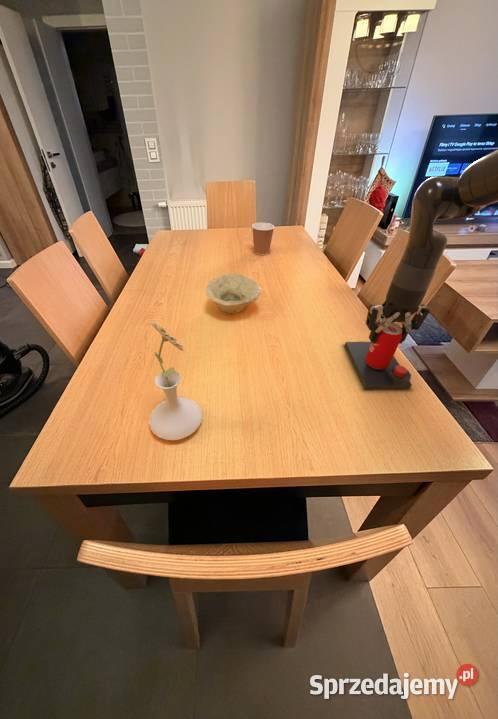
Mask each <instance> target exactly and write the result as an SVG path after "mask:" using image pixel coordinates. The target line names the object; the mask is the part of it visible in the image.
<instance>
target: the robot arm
mask: <svg viewBox="0 0 498 719" xmlns="http://www.w3.org/2000/svg"><path fill="white" fill-rule="evenodd" d="M495 203H498V149H496V150H494V151H493V152H490V153H489V154H486V155H485V156H482V157H481V158H479V159H478V160H476V161H473V163H471V164H470V165H469V166H468V167H466V168H465V169H464V171H462V172H461V175H460V176H431V177H430V178H427V179H426V180H424V181H423V182H422V183H421V184H420V185H419V187H418V188H417V190H416V191H415V193H414V196H413V198H412V203H411V210H410V212H411V213H410V225H409V232H408V239H407V242H406V245H405V248H404V250H403V253H402V255H401V258H400V260H399V262H398V264H397V266H396V268H395V271H394V273H393V275H392V278H391V281H390V284H389V287H388V289H387V292H386V296H385V300H384V302H383V303H382V304H381V305H375V304H374V303H371V304H370V305H368V310H367V315H366V320H365V326H366V327H367V328H368V330H369V331H370V332H369V335H368V340H369V342H372V344H376V342H377V339H378V337H379V334H380V331H381V330H382V329H383V328H384V327H387V326H388V325H389V324H390V323H401V328H402V338H401V340H400V343H399V345H401V344H403V342H405V341H406V339H407V337H408V334H409V333H410V332H411V331H418V330H420V328H421V326H423V323H424V321H426V318H427V317H428V315H429V313H431V312H430V311H431V310H430V309H429V308H428V307H427V306H426V305H425V303H422V302H423V301H424V298H425V296H426V293H427V291H428V289H429V288H430V285H431V283H432V281H433V278H434V276H435V273H436V270H437V267H438V265H439V263H440V260H441V258H442V257H443V254H444V252H445V250H446V247H447V244H448V237H447V236H446V235H445V234H444V233H442V232H440V231H437V230H434V224H435V223H436V221H458V220H461V219H465V218H469V217H471V216H473V215H475V214H477V213H478V212H480V211H481V210H483V209H484V208H486V207H487V206H489V205H493V204H495ZM411 317H412V318H411Z"/></svg>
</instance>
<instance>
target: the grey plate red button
mask: <svg viewBox="0 0 498 719" xmlns="http://www.w3.org/2000/svg"><path fill="white" fill-rule="evenodd" d="M370 345H371V341H345V343H344V345H343V346H344V349H345V351H346V353H347V355H348V358H349V359H350V362H351V364H352V366H353V368H354V370H355V373H356V374H357V377H358V380H359V382H360V383H361V385H362V387H363V389H364V390H365V391H376V390H378V391H380V390H381V391H383V390H386V391H387V390H410V389H411V387H412V385H413V383H412V381H410V380H411V379H412V374H411V372H410V371H409V370H408V369H406V370H407V372H406V374H405V376H404V377H403V378H400V377H397V376H395V375H394V374H393V371H394V369H395V367H396V366H401V365H400V364H399V362H398V360H397V359H396V357H395V355H394V356H393V358H392V360H391V362H390V365H389V367H388V368H386V369H381V370H380V369H375V368H372V367H371V366H369V365H368V364H367V362H366V356H367V353H368V350H369V348H370Z"/></svg>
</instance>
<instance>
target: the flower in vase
mask: <svg viewBox="0 0 498 719" xmlns="http://www.w3.org/2000/svg"><path fill="white" fill-rule="evenodd" d="M149 323H150V324H151V326H152V327H153V328H154V329H155V330H156V331H157V332H158V333H159V334H160V335H161V342H160V346H159V350H158V353H157V352H156V351H155V352H154V356H155V357H156V359H157V360H158V362H159V365H160V367H161V370H162V371H161V372H160V373H158V374H157V375H156V376H155V378H154V384H155V385H156V387H157V388H160V389H161V390H162V391H163V393H164V396H165V398H166V399H165V400H163V401H161V402H160V403H158V404H157V405H156V406H155V407H154V408H153V410H152V412H151V413H150V416H149V422H148V423H149V428H150V430H151V432H152V433H153V434H154V435H155V436H157V437H158V438H160V439H163V440H165V441H166V440H167V441H178V440H182V439H185V438H188V436H190V435H192V434H193V433H195V432H196V430H198V429H199V427H200V425H201V423H202V421H203V413H202V409H201V408H200V406H199V404H197V403H196V402H195V401H194V400H193V399H191V398H187V397H183V396H178V386H179V384H180V383H181V381H182V375H181V374H180V372H178V371H175V370H176V369H175V367H169V368H168V369H166V370H165V368H164V366H163V364H164V360H163V358H162V357H161V354H162V350H163V345H164V342H165V343H166V342H169V343H170V344H172V346H174V347H175V348H177V349H178V350H179V351H181V352H184V351H185V349H184V345H183V344H181V343H180V342H178V341H177V339H176V337H174V336H173V335H170V333H168V332H167V330H166V329H165V328H164V327H163V326H161V325H159V323H158V322H157V321H156V320H151V319H150V321H149Z"/></svg>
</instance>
